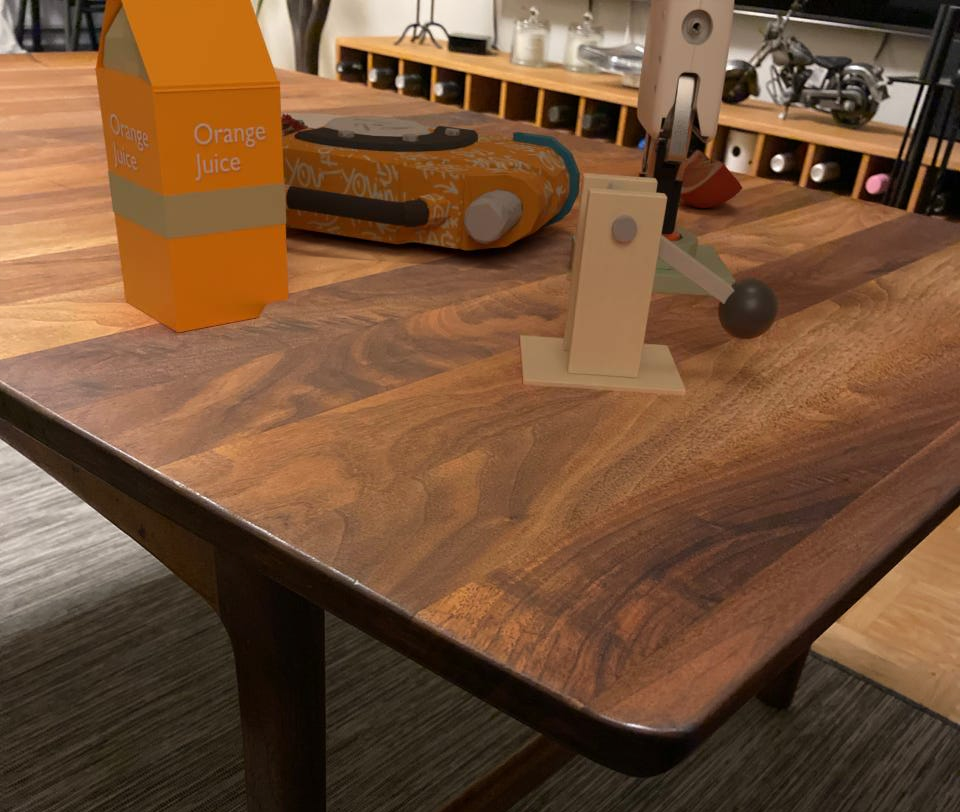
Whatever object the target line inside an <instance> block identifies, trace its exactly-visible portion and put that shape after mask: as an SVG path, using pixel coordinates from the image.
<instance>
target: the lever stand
mask: <svg viewBox="0 0 960 812" xmlns="http://www.w3.org/2000/svg"><path fill="white" fill-rule="evenodd" d="M610 182H613V183H614V184H616V185H617V186H618V187H620V188H621V189H622V190H612V189H606V188H607V186H608V185H609V183H610ZM657 184H658V182H657V180H656V179H655V178H646V177H639V176H632V175H617V174H604V173H589V172H583V173H582V177H581V188H580V195H579V203H578V212H577V221H576V231H575V236H576V238H575V246H574V255H573V263H572V269H571V273H570V282H569V291H568V297H567V298H568V299H567V308H566V315H565V324H564V333H563V337H552V336H550V337H549V336H536V335H523V334H522V335H519V352H520V353H519V354H520V365H521V367H520V368H521V378H522V385H524V386H537V387H538V386H540V387H555V388H568V389H583V390H598V391H615V392H630V393H641V394H643V393H644V394H658V395H661V394H662V395H672V396H686V394H687V388H686V386H685V384H684V382H683V380H682V377H681V375H680V372H679V369H678V367H677V365H676V363H675V360H674V358H673V356H672V353H671V350H670V347H669V345H667V344H654V343H645V337H646V331H647V325H648V318H649V314H650V313H649V312H650V306H651V301H652V293H653V292H652V289H653V283H654V276H655V270H656V264H657V258H658V252H659V246H660V240H661V233H662V227H663V221H664V215H665V209H666V203H667V196H666V195H665V194H664V193H656V190H657Z"/></svg>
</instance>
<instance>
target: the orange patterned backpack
mask: <svg viewBox="0 0 960 812" xmlns="http://www.w3.org/2000/svg"><path fill="white" fill-rule="evenodd" d="M347 116H348V117H340V118H333V119H332V120H330V121H329V122H328V123H327V124H325V126H322V127H319V128H316V129H311V128H307V129H304V130H301V131H298V132H295V133H292V134H289V135H287V136H284V137H282V148H283V173H284V183H285V202H286V227H287V228H292V229H300V230H306V231H311V232H312V231H313V232H318V233H323V234H329V235H330V234H331V235H335V236H336V235H337V236H343V237H349V238H356V239H362V240H367V241H375V242H380V243H385V244H394V245H402V244H409V243H419V244H424V245H431V246H436V247H443V248H450V249H457V250H458V249H460V250H462V251H475V250H486V249H497V248H507V247H508V246H510V245H511V244H513V243H515V242H517V241H519V240H522V239H523V238H527V237H528V236H530V235H533V234H535V233H536V232H537V231H538V230H543V229H544V228H547V227H549V226H551V225H553V224H556V223H559V222H560V221H562V220H563V219H564V218H565V217H566V216H567V215H568V214H569V213H570V212H571V211H572V208H573V207H574V204H575V202H576V201H577V199H578V196H580V195H579V194H580V180H581V172H580V170H579V167H578V163H577V162H576V160H575V157H574V155H573V153H572V152H571V151H570V150H569V149H568V148H567V147H566V146H564V145H563V144H562V143H561V142H560V141H559V140H558V139H556V137H554V136H553V135H552V136H551V135H544V134H536V133H531V132H530V133H529V132H522V131H513V132H512V133H513V134H512V136H508V135H502V134H494V133H486V132H485V133H484V132H477V131H476V130H474V129H468V128H460V127H454V126H453V127H452V126H445V125H438V126H436V127H435V128H429V127H428V126H425V125H423V124H421V123H419V122H416V121H414V120H409V119H402V118H394V117H387V116H377V115H376V116H375V115H373V116H369V115H347Z"/></svg>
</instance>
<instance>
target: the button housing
mask: <svg viewBox="0 0 960 812" xmlns="http://www.w3.org/2000/svg"><path fill="white" fill-rule="evenodd" d="M674 230H676V231H677V232H678V233H679V240H678V241H671V242H672V243H673V244H675V245H676V246H678V247H679V248H680V249H682V250H683V251H684V252H686V253H687V254H689V255H690V256H691V257H693V258H694V259H696V260H697V261H698V262H700V263H701V264H702V265H704V266H705V267H707V268H708V269H709V270H711V271H712V272H713V273H715V274H716V275H718V276H719V277H720V278H722V279H723V280H725V281H726V282H727V283H729V284H730V285H732V284H734V283H736V278H735V277H734V276H733V274H732V272H731V271H730V270H729V268H728V267H727V265H726V264H725V262H724V261H723V260H722V258H721V256H720V255H719V253H718V251H717V250H716V249H715V247H714V246H713V245H710V244H709V245H708V244H699V238H698V237H697V235H696V234H695V233H694V232H691V231H689V230H686V229H683V228H681V227H678V226H677V227H676V226H675V229H674ZM575 238H576V235H572V238H571V247H570V254H569V255H570V256H569V264H570V270H572V263H573V255H574V246H575ZM652 293H666V294H681V295H682V294H683V295H693V296H695V295H696V296H707V297H709V296H711V297H713V296H712V295H710V294H709V293H707V292H706V291H705V290H703V289H702V288H700V287H699V286H698V285H696V284H695V283H693V282H692V281H691V280H689V279H688V278H686V277H685V276H684V275H682V274H681V273H679V272H678V271H677V270H675V269H674V268H672V267H671V266H670V265H668V264H667V263H665V262H664V261H663V260H661V259H660V258H657V264H656V270H655V276H654V283H653V289H652Z"/></svg>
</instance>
